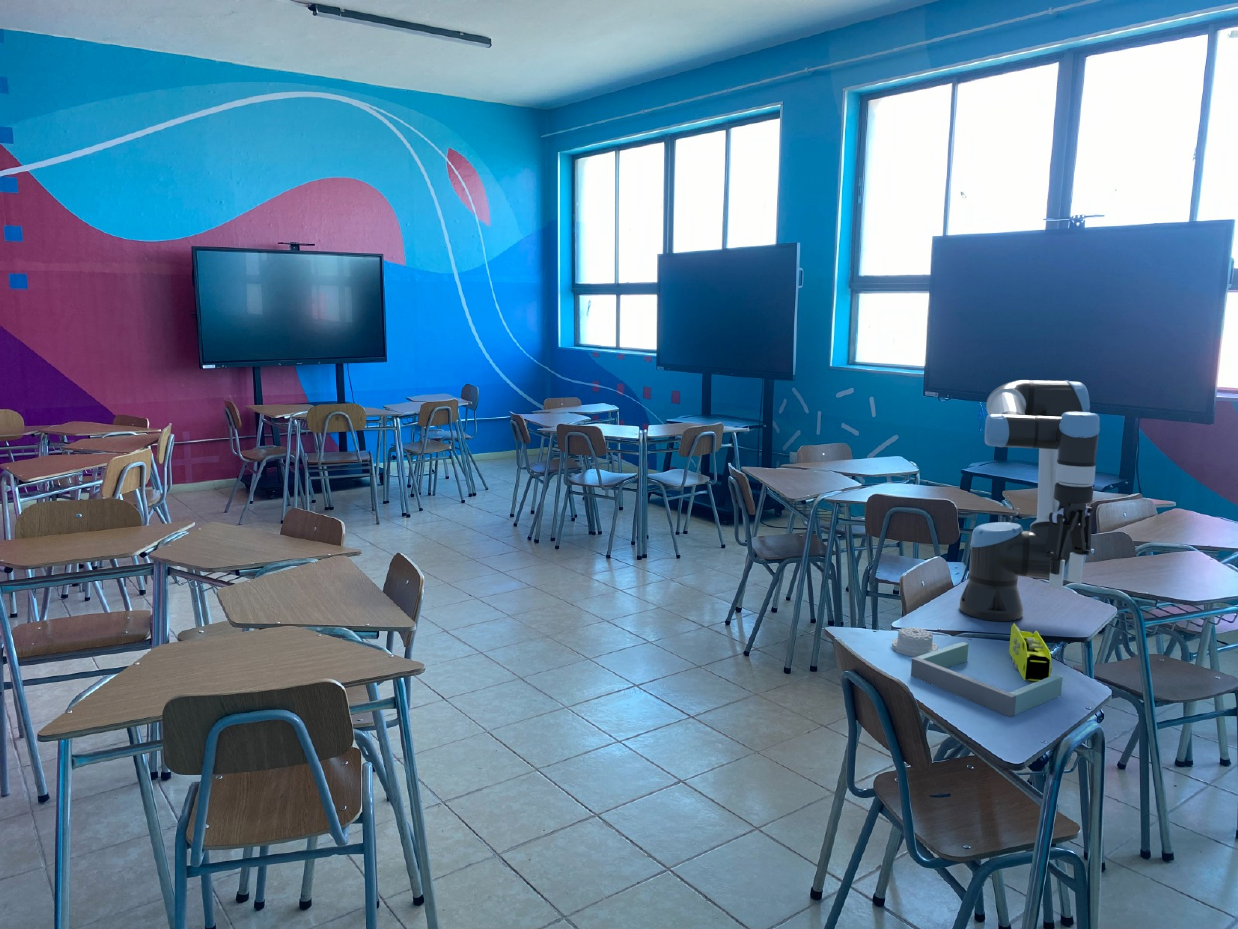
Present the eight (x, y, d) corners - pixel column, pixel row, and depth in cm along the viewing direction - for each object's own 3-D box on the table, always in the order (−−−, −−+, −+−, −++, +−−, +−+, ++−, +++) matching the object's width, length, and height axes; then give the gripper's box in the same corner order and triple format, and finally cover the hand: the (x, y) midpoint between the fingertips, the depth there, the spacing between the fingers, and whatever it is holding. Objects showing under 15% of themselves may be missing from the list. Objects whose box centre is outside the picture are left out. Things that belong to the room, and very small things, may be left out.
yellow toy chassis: (1006, 655, 197) (1009, 620, 196) (1033, 657, 196) (1036, 622, 194) (1021, 683, 182) (1024, 646, 180) (1050, 686, 180) (1054, 648, 179)
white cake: (942, 659, 195) (931, 643, 205) (943, 640, 194) (932, 625, 204) (896, 657, 196) (887, 641, 206) (898, 639, 195) (888, 623, 205)
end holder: (961, 658, 194) (962, 641, 194) (1060, 695, 176) (1062, 677, 175) (910, 676, 185) (911, 658, 184) (1010, 717, 166) (1011, 697, 165)
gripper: (1081, 476, 197) (1072, 573, 201) (1031, 485, 186) (1023, 588, 190) (1115, 481, 191) (1105, 582, 195) (1065, 491, 180) (1056, 597, 184)
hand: (1065, 584), depth 193 cm, fingers open, 7 cm apart
